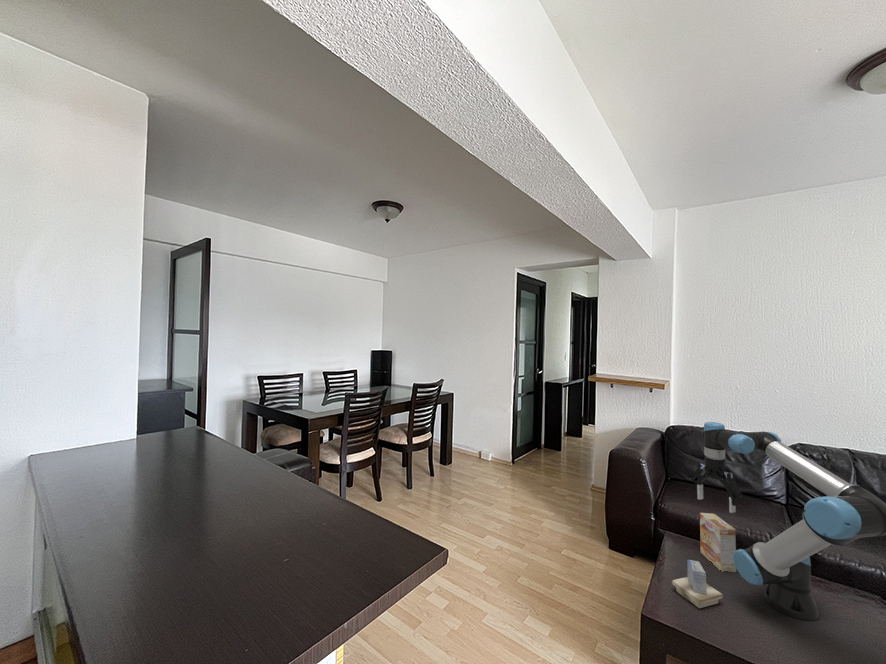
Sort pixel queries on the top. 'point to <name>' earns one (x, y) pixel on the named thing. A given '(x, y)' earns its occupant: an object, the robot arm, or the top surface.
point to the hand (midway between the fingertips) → (715, 505)
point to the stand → (697, 598)
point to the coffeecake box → (717, 541)
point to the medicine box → (696, 576)
